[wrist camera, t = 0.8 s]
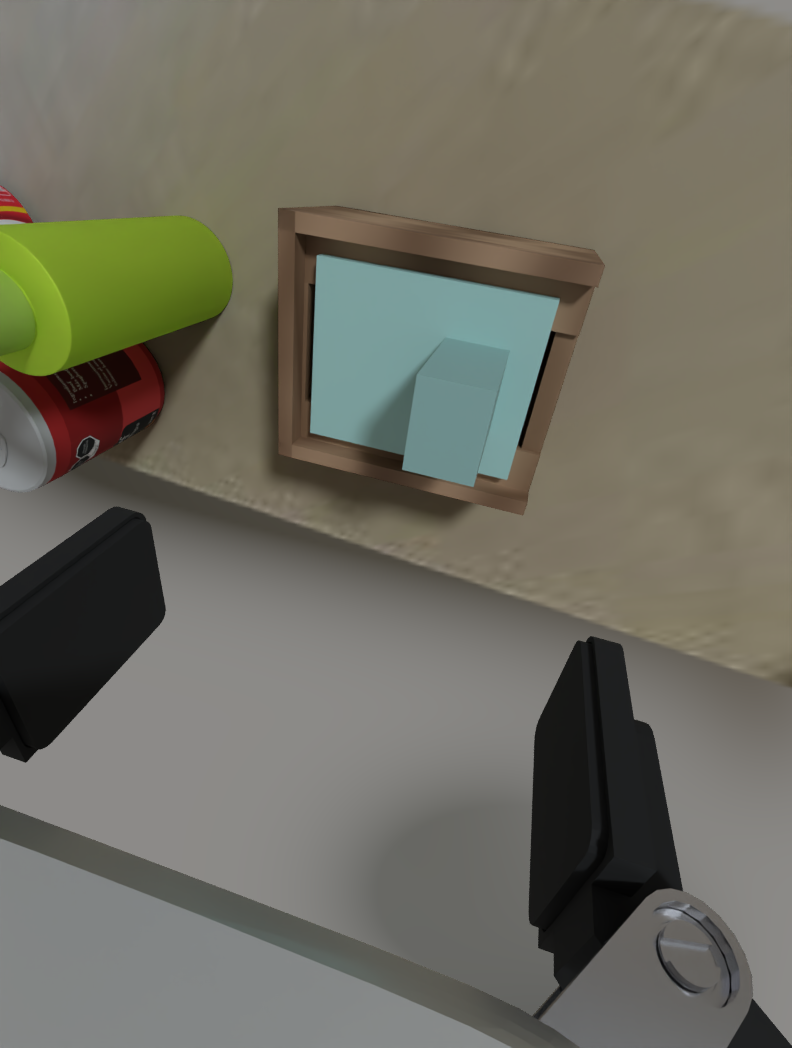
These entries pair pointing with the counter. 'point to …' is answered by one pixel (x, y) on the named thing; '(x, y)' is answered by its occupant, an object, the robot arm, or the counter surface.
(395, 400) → the cover plate
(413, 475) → the walnut box
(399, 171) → the counter surface
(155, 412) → the canned food
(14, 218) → the soda can
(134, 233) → the soap dispenser
